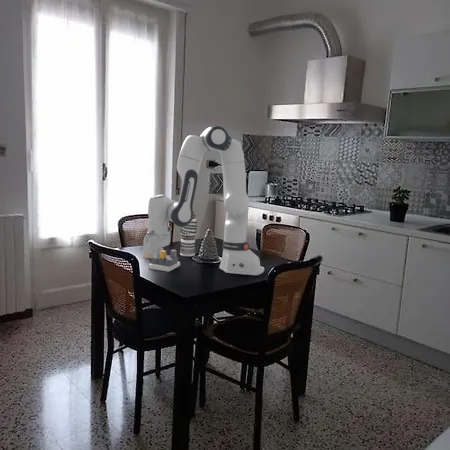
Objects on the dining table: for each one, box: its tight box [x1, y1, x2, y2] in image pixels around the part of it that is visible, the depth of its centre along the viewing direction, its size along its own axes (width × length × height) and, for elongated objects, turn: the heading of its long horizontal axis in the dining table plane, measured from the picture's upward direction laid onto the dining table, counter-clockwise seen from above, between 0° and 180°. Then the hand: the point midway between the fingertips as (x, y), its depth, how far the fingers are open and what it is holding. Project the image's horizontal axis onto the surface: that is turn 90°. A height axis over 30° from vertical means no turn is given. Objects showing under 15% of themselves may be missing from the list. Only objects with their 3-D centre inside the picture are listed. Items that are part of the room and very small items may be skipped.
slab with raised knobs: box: [148, 247, 181, 272], centre depth 217 cm, size 11×12×8 cm
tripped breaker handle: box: [159, 250, 167, 259], centre depth 215 cm, size 2×2×4 cm
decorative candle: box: [179, 209, 198, 257], centre depth 243 cm, size 9×9×25 cm
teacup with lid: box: [142, 239, 154, 260], centre depth 236 cm, size 12×9×12 cm
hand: (156, 257), depth 210 cm, fingers closed
